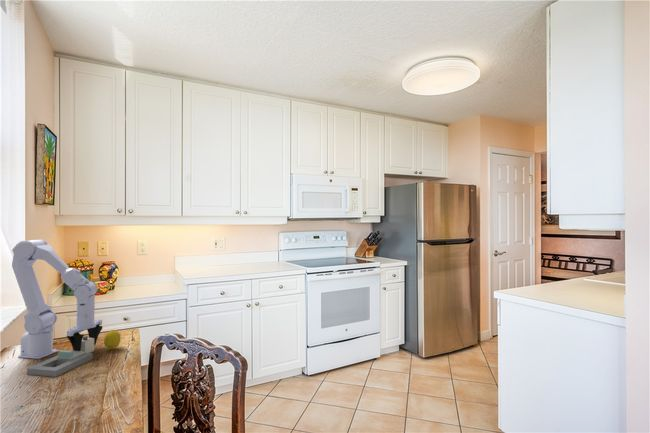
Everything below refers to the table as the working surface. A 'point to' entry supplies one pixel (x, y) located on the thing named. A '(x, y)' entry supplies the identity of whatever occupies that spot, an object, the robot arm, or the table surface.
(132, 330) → the table surface
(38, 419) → the table surface
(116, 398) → the table surface
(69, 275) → the robot arm
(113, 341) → the lemon
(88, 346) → the plug
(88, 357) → the socket plate
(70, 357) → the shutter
